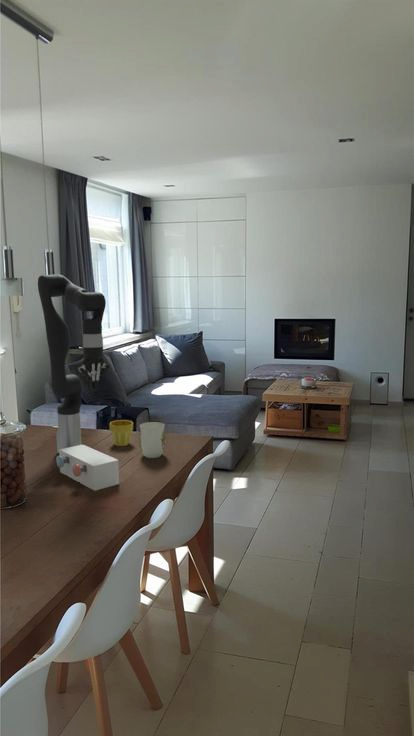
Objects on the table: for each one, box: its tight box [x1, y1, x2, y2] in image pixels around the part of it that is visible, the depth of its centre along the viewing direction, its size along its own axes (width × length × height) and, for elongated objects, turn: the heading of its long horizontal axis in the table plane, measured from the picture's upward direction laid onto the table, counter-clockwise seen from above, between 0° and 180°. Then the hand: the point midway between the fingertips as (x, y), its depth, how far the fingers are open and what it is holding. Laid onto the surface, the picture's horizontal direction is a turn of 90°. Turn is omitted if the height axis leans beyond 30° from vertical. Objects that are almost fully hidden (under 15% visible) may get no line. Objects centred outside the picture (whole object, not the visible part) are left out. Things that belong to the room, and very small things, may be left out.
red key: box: [73, 464, 86, 477], centre depth 206 cm, size 8×4×4 cm, turn 131°
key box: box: [58, 444, 120, 492], centre depth 214 cm, size 10×26×9 cm, turn 41°
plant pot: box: [109, 419, 134, 447], centre depth 257 cm, size 10×10×10 cm
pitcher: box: [138, 421, 167, 459], centre depth 241 cm, size 11×18×14 cm, turn 178°
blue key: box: [55, 455, 69, 469], centre depth 216 cm, size 8×4×4 cm, turn 131°
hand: (94, 390), depth 222 cm, fingers closed
